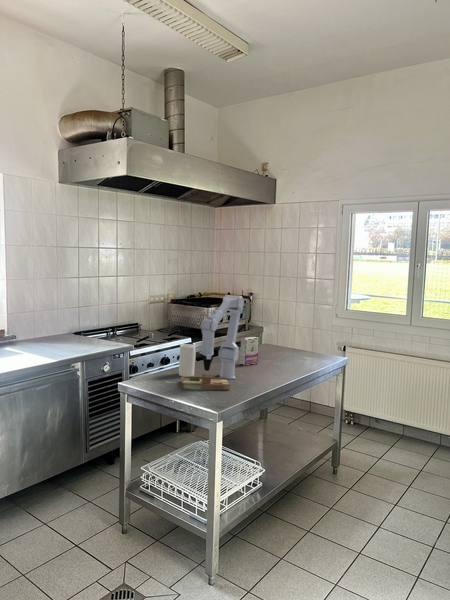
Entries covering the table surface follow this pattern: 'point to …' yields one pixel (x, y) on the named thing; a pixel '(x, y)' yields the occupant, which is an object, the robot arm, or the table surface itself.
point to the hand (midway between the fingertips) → (206, 370)
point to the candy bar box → (249, 350)
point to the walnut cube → (206, 379)
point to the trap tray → (197, 384)
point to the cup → (187, 360)
